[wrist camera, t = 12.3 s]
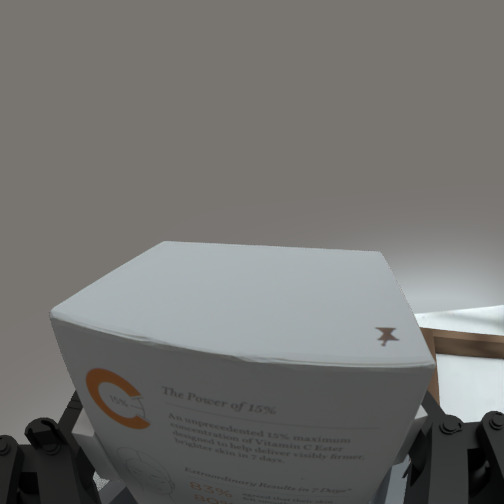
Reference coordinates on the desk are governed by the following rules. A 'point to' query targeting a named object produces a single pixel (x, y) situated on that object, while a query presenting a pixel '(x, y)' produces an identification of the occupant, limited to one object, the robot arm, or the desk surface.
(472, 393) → the desk surface
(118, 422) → the small box
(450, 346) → the walnut frame
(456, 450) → the robot arm
